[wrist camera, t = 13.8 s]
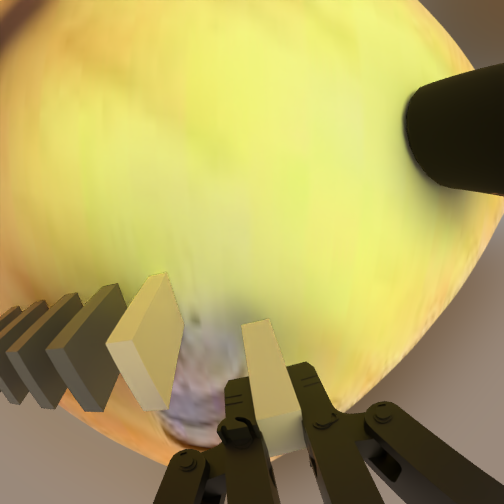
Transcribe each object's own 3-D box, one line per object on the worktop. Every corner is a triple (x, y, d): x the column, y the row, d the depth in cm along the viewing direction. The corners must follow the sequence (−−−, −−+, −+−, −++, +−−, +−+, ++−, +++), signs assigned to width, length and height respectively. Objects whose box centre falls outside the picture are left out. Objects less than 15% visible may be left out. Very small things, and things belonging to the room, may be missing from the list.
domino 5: (167, 328, 22) (143, 411, 13) (149, 276, 21) (105, 343, 11) (184, 325, 23) (168, 409, 13) (166, 272, 21) (132, 340, 12)
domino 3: (85, 340, 22) (41, 408, 12) (64, 295, 21) (5, 352, 11) (97, 339, 22) (55, 409, 12) (77, 292, 21) (17, 351, 11)
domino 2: (54, 344, 22) (10, 403, 12) (35, 302, 20) (-22, 352, 11) (64, 343, 22) (20, 405, 12) (44, 299, 20) (-14, 352, 11)
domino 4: (123, 335, 22) (84, 411, 13) (102, 286, 21) (45, 349, 11) (137, 333, 22) (103, 411, 13) (117, 283, 21) (63, 348, 11)
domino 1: (30, 346, 21) (-13, 398, 12) (11, 307, 20) (-41, 352, 10) (38, 345, 22) (-6, 399, 12) (19, 305, 20) (-35, 352, 11)
